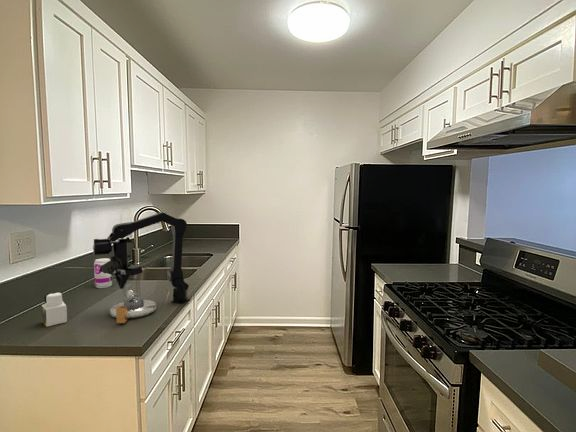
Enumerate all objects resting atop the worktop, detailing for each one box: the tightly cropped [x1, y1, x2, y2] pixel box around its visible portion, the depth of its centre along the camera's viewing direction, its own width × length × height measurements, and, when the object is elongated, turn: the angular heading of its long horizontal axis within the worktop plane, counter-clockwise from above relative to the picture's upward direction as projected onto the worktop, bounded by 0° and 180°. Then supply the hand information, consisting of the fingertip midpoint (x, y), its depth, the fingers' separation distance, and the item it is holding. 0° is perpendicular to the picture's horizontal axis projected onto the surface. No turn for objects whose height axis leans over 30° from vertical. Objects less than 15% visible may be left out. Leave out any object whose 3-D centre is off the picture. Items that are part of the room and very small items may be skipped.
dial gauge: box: [126, 289, 139, 298], centre depth 164 cm, size 4×4×6 cm
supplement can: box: [93, 257, 113, 289], centre depth 190 cm, size 8×8×15 cm
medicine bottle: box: [41, 291, 68, 328], centre depth 140 cm, size 7×7×12 cm
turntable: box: [109, 299, 157, 324], centre depth 149 cm, size 23×18×6 cm
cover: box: [123, 296, 145, 310], centre depth 151 cm, size 8×8×4 cm
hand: (121, 288), depth 152 cm, fingers closed
